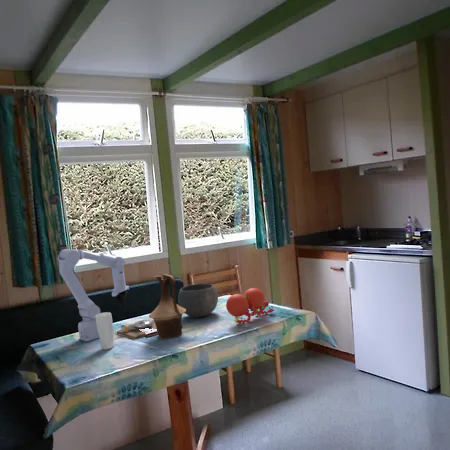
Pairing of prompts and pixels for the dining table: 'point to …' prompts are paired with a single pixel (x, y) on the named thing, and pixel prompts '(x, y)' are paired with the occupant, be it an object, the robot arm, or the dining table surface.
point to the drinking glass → (105, 330)
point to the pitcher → (167, 310)
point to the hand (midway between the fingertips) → (122, 306)
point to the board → (136, 332)
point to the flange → (138, 325)
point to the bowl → (198, 299)
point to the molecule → (247, 305)
